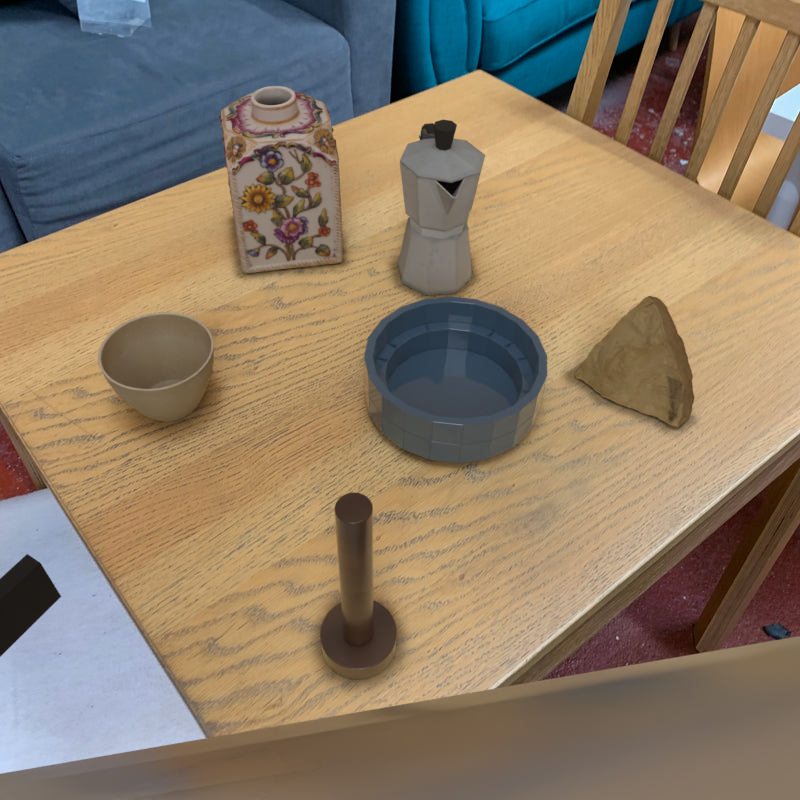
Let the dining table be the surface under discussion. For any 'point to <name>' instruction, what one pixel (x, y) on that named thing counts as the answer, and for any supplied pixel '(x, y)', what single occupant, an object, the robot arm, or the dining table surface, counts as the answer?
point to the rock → (643, 364)
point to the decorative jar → (283, 180)
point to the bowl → (454, 378)
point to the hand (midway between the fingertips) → (172, 661)
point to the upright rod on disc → (357, 599)
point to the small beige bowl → (159, 363)
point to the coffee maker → (438, 209)
